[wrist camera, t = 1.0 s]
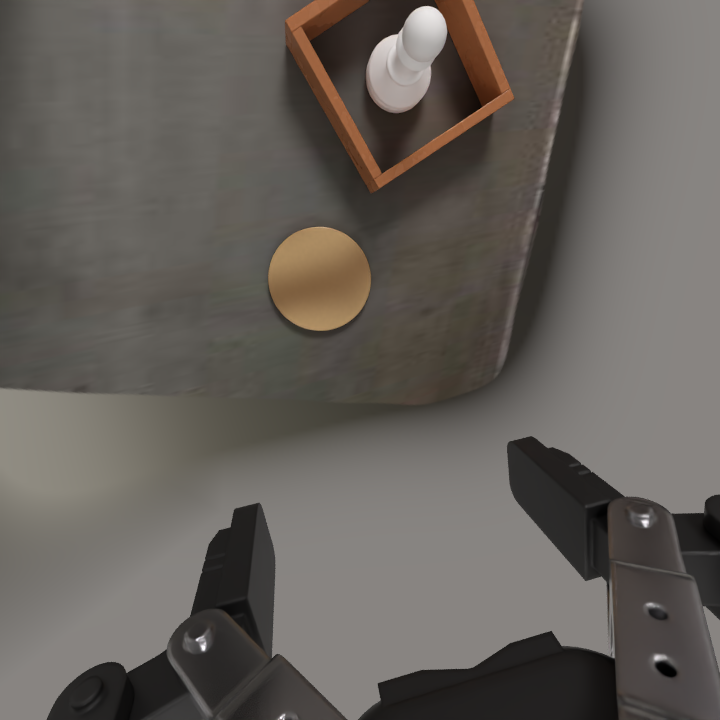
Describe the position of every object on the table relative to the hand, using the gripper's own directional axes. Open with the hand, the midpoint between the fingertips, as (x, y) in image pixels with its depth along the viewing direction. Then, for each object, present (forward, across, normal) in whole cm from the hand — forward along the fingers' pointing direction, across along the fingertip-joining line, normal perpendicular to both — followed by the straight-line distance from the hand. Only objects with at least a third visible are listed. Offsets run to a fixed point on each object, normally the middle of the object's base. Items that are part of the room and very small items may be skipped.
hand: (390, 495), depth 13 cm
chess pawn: (+27, -10, -19) cm, 34 cm away
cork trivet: (+27, 0, -4) cm, 27 cm away
